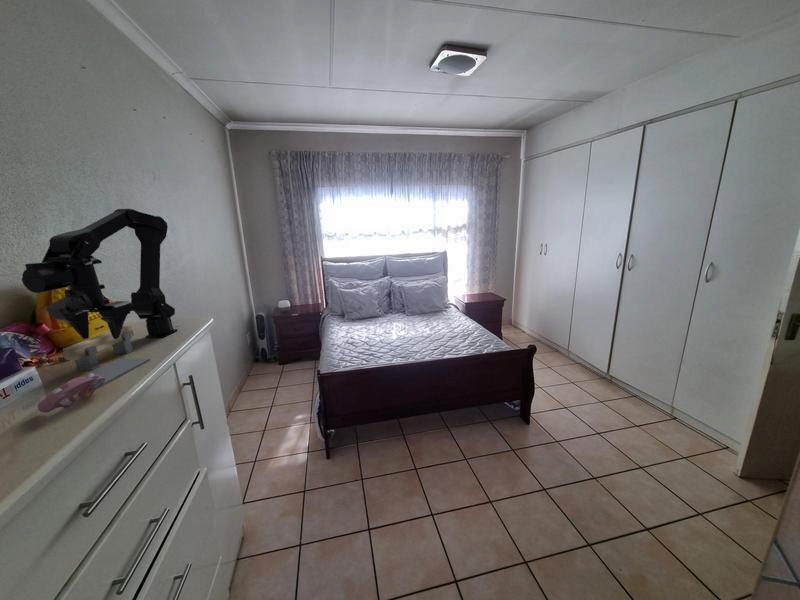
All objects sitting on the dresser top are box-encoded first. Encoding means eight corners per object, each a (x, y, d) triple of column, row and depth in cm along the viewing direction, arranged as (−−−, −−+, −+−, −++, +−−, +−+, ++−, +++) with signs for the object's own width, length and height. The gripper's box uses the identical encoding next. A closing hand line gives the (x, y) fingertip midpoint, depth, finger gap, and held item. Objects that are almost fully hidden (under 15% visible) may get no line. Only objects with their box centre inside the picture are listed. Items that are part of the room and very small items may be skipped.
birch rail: (125, 335, 94) (122, 326, 94) (134, 335, 94) (131, 326, 93) (66, 359, 79) (62, 348, 78) (77, 359, 79) (73, 349, 78)
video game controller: (51, 423, 63) (56, 401, 60) (33, 410, 63) (37, 387, 61) (105, 395, 72) (111, 374, 70) (89, 383, 72) (94, 363, 70)
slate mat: (120, 359, 87) (120, 358, 87) (150, 360, 87) (149, 358, 86) (55, 391, 72) (54, 389, 72) (90, 392, 71) (90, 390, 71)
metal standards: (118, 350, 94) (112, 331, 92) (135, 350, 93) (130, 331, 92) (75, 370, 82) (68, 349, 80) (94, 370, 82) (87, 349, 80)
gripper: (13, 291, 75) (35, 351, 79) (83, 290, 73) (103, 351, 78) (64, 281, 85) (82, 334, 90) (127, 280, 84) (142, 334, 88)
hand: (101, 338), depth 86 cm, fingers open, 9 cm apart
